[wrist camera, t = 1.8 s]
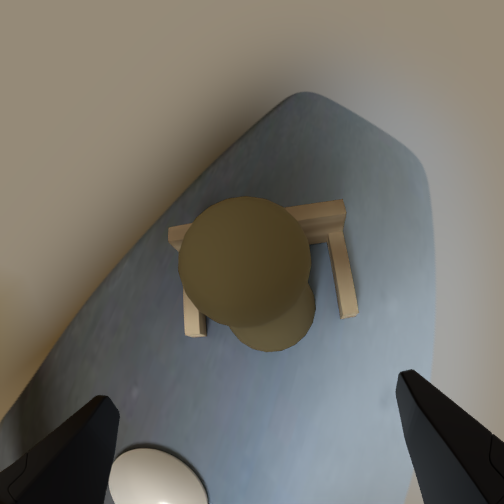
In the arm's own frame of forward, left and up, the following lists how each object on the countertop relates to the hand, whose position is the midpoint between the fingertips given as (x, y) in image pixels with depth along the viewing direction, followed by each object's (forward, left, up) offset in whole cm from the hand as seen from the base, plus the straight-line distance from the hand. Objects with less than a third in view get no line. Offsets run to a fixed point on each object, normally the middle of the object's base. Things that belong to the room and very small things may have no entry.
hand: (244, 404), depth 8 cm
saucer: (-5, +12, -12) cm, 17 cm away
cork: (+5, -1, -12) cm, 13 cm away
